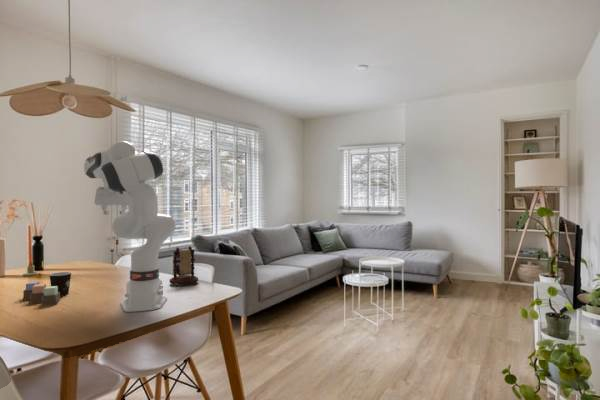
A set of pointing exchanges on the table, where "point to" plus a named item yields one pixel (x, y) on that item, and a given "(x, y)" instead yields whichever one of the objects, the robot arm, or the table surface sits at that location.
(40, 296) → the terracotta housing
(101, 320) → the table surface
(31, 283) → the slate cap
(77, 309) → the table surface
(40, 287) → the terracotta cap
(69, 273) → the coffee mug
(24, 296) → the slate housing
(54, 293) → the sage cap
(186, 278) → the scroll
